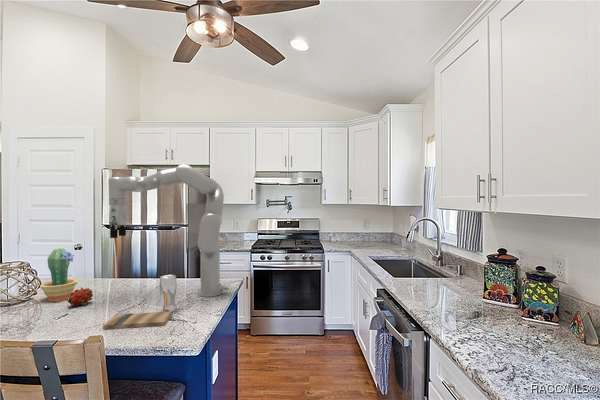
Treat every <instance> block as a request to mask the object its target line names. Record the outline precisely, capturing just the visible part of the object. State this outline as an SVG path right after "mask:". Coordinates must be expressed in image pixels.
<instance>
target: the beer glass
mask: <svg viewBox="0 0 600 400" xmlns="http://www.w3.org/2000/svg"><path fill="white" fill-rule="evenodd" d="M177 285H178V284H177V275H176V274H164V275H161V276H159V294H160V299H161V308H160V312H169V311H172V313H173V312H175V311H176V310H177V307H176V295H177Z"/></svg>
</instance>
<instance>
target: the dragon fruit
mask: <svg viewBox="0 0 600 400" xmlns="http://www.w3.org/2000/svg"><path fill="white" fill-rule="evenodd" d="M93 299H94V294H93V290H91V289H90V288H89V287H86V288H83V287H80V289H75V290H74V291H73V292H72V293H71V294H70V297H69V299H67V303H69V304H70V306H71V308H72V307H74V308H75V307H78V306H81V305H82V306H85V305H86V304H88V302H90V301H92V300H93Z"/></svg>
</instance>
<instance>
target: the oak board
mask: <svg viewBox="0 0 600 400" xmlns="http://www.w3.org/2000/svg"><path fill="white" fill-rule="evenodd" d="M172 316H173V312H172V311H169V312H161V311H157V312H152V311H151V312H135V313H133V312H131V313H120V314H115V315H114V316H113V317H112V318H111V319H109V320H108V321H107V322H105V324H103V326H102V329H103V330H104V331H105V330H116V329H115V328H120V329H132V328H131V327H136V328H149V327H165V325H166V324H167V323H168V322H169V320H170V319H171V317H172ZM169 318H170V319H169Z"/></svg>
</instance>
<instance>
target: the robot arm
mask: <svg viewBox="0 0 600 400" xmlns="http://www.w3.org/2000/svg"><path fill="white" fill-rule="evenodd" d="M180 184H185V185H187V186H189V187H190V188H191V189H193V190H195V191H197V192H199V193H201V194H206V203H205V211H204V214H203V216H202V217H201V219H200V221H199V222H200V223H199V228H198V229H199V230H198V238H197V248H198V250H199V251H200V290H198V292H197V296H199V297H202V298H203V297H204V298H213V297H218V296H220V295H223V293H224V290H225V291H229V288H230V287H229V285H226V284H225V285H222V283H221V280H220V279H221V278H220V277H221V276H220V275H221V273H220V265H221V263H220V260H221V259H220V255H221V254H220V253H221V251H220V247H221V243H220V241H221V240H220V238H219V236H220V229H221V225H222V222H223V220H222V219H223V218H222V217H223V210H224V209H223V208H224V200H225V197H224V191H223V188H222V186H221V185H220V184H219V183H218V182H217V181H216V180H214V179H213V178H212V177H209V176H207V175H206V174H204V173H202V172H200V171H199V170H197V169H195V168H193V167H192V166H191V165H189V164H186V163H183V164H179V165H178V166H176V167H170V168H165V169H160V170H159V171H158V172H157V171H156V173H154V174H150V175H146V176H145V175H144V176H139V177H137V176H133V175H132V176H131V175H130V176H123V177H122V176H111V177H109V178H108V206H109V213H108V214H109V218H108V219H109V220H108V223H109V224H108V226H109V238H110V239H117V238H118V237H125V236H126V235H127V234H126V233H127V231H126V230H127V229H126V228H127V224H128V212H127V211H128V210H127V192H129V193H130V192H131V193H133V192H134V193H140V192H145V191H146V192H147V191H151V190H156V189H161V188H165V187H171V186H175V185H180ZM117 228H118V229H117Z"/></svg>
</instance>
